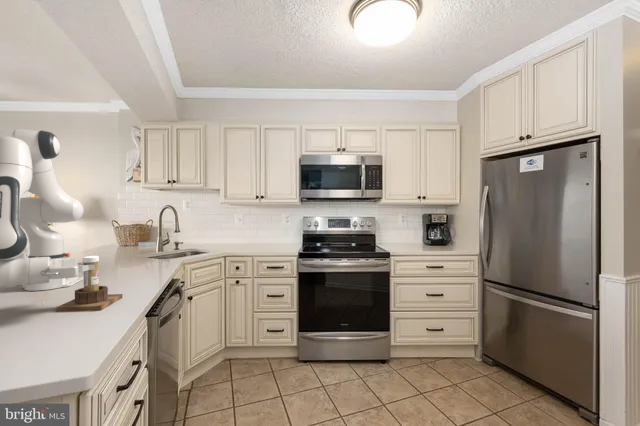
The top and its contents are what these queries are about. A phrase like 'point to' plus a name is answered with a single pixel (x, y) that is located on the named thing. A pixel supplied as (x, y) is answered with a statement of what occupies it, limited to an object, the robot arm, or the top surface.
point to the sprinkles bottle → (91, 274)
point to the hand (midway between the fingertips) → (94, 265)
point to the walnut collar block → (90, 300)
